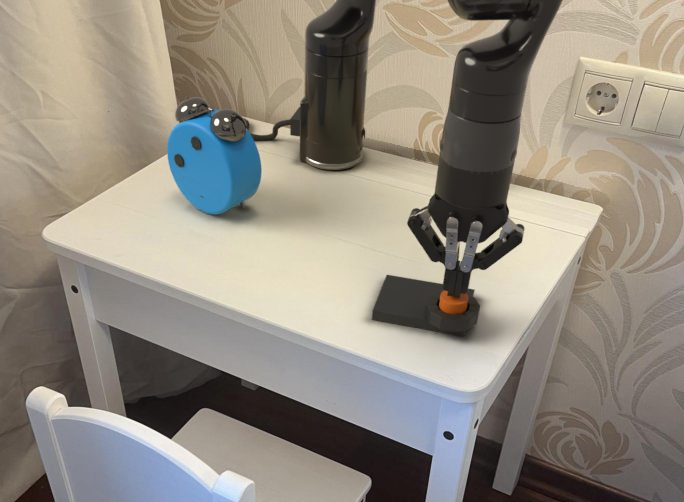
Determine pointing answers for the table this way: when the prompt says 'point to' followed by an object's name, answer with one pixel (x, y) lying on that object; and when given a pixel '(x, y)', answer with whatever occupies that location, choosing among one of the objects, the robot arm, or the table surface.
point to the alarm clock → (213, 157)
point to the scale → (421, 306)
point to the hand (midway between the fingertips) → (454, 293)
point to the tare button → (453, 303)
